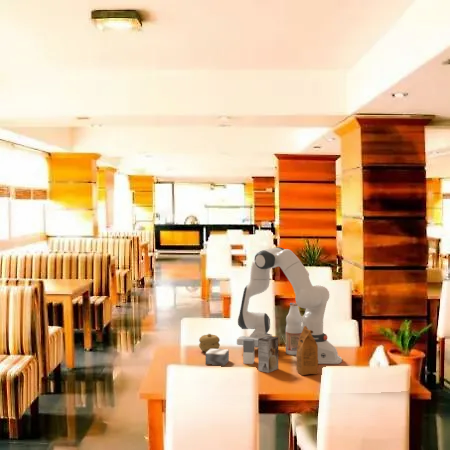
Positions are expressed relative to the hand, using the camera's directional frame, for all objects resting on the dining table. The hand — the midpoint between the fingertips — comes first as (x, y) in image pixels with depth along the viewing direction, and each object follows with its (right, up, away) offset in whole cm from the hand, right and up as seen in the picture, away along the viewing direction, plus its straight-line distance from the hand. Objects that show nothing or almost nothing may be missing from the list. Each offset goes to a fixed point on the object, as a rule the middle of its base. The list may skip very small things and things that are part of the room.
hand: (252, 344), depth 305 cm
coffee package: (+25, -7, -29) cm, 39 cm away
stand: (-19, -7, -12) cm, 24 cm away
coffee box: (+7, -7, -25) cm, 27 cm away
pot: (-24, -6, +12) cm, 28 cm away
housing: (-3, -7, -12) cm, 14 cm away
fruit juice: (+23, -7, +8) cm, 26 cm away
